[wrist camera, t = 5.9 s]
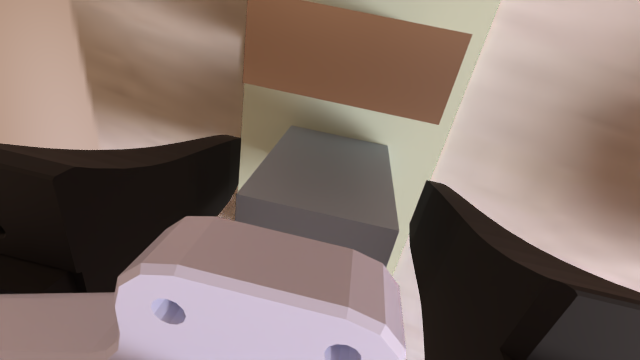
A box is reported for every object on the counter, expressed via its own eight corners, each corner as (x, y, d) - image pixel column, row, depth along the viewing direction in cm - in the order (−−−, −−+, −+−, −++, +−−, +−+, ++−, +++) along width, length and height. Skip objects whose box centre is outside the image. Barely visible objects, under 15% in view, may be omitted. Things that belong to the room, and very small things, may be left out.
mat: (384, 291, 18) (385, 295, 18) (235, 254, 18) (233, 257, 18) (722, -575, 6) (737, -602, 6) (291, -618, 7) (287, -644, 6)
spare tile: (377, 181, 14) (381, 280, 9) (286, 161, 15) (233, 245, 9) (387, 145, 14) (399, 230, 8) (291, 125, 14) (236, 194, 8)
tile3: (407, 79, 12) (438, 124, 7) (300, 56, 13) (242, 83, 7) (422, 30, 11) (472, 34, 6) (307, 6, 12) (247, -11, 6)
